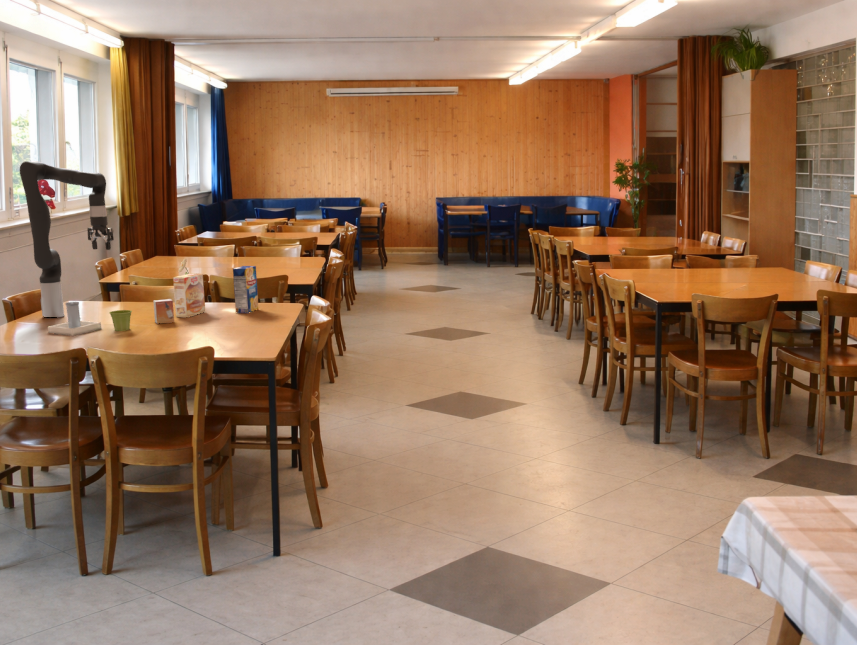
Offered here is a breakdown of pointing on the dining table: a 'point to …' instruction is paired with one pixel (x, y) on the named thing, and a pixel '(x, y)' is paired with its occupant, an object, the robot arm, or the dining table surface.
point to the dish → (65, 330)
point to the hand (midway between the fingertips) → (101, 249)
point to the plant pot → (121, 319)
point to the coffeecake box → (189, 295)
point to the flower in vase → (183, 266)
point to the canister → (73, 314)
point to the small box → (163, 311)
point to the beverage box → (245, 289)
